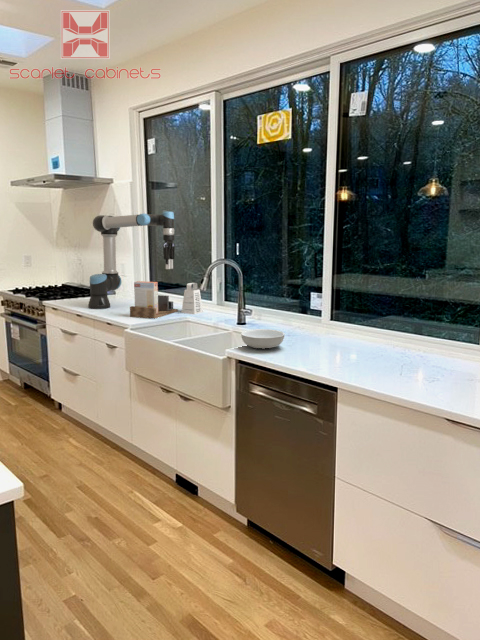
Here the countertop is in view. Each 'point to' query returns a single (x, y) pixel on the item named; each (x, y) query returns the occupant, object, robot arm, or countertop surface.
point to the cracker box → (146, 294)
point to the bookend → (164, 303)
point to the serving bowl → (262, 338)
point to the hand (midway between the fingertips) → (169, 268)
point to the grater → (192, 300)
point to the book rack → (148, 312)
